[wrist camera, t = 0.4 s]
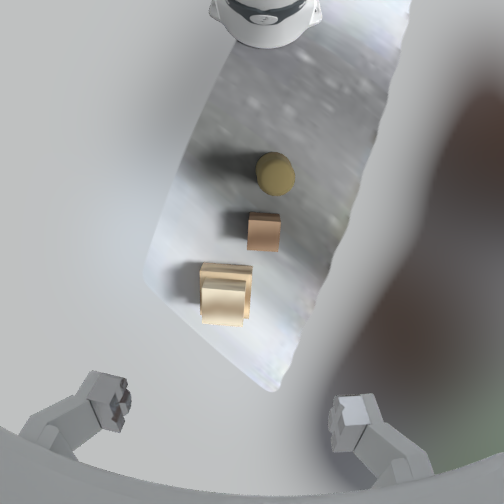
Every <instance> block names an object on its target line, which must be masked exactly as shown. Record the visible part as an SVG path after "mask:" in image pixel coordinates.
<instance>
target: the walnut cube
mask: <svg viewBox="0 0 504 504" xmlns="http://www.w3.org/2000/svg"><path fill="white" fill-rule="evenodd" d="M280 226H281V220H280V215H279V214H270V213H256V212H250V215H249V224H248V242H247V250H257V251H272V252H278V248H279V237H280Z"/></svg>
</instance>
